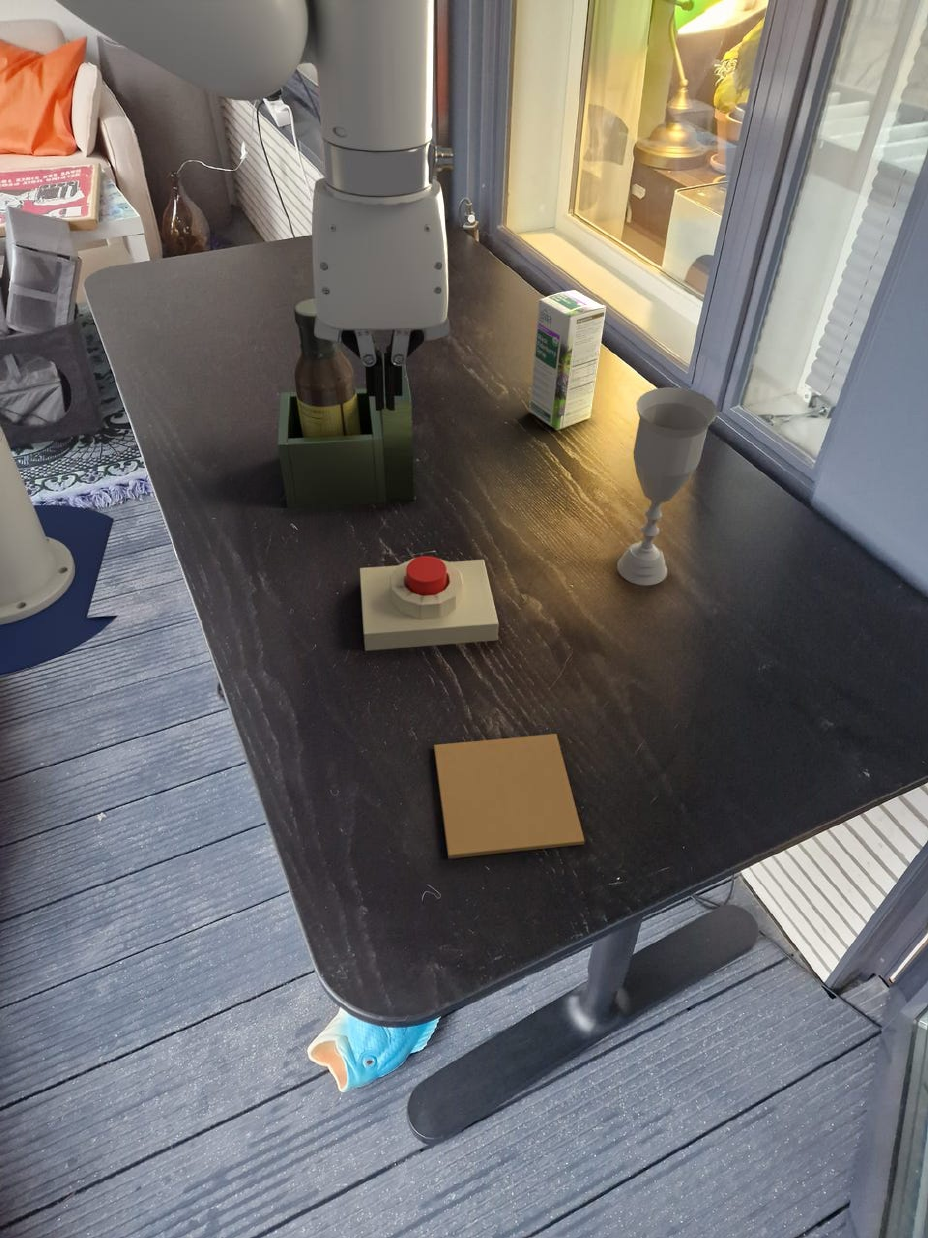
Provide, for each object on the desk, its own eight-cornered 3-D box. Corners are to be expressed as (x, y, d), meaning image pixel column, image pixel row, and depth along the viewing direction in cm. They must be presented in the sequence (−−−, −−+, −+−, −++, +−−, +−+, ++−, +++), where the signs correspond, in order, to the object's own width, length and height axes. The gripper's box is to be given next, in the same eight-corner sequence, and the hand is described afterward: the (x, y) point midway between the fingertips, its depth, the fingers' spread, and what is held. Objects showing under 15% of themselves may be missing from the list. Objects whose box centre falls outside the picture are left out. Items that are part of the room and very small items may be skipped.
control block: (365, 651, 76) (362, 618, 73) (360, 584, 82) (358, 552, 80) (497, 640, 77) (499, 608, 75) (483, 576, 84) (484, 544, 81)
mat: (448, 859, 61) (448, 855, 61) (434, 748, 68) (434, 744, 68) (583, 844, 62) (584, 841, 62) (555, 737, 69) (556, 733, 69)
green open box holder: (287, 508, 91) (272, 408, 83) (289, 454, 99) (275, 357, 90) (413, 501, 93) (411, 402, 84) (406, 448, 100) (403, 352, 92)
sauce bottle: (348, 456, 99) (333, 286, 85) (374, 482, 95) (363, 309, 81) (298, 472, 96) (274, 299, 82) (322, 500, 92) (302, 324, 78)
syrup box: (527, 411, 107) (536, 298, 97) (563, 398, 109) (575, 286, 99) (556, 432, 103) (568, 316, 93) (592, 418, 106) (608, 304, 96)
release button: (408, 597, 76) (408, 583, 75) (405, 571, 78) (404, 557, 77) (448, 595, 76) (448, 580, 75) (444, 569, 79) (444, 554, 78)
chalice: (659, 601, 82) (699, 439, 69) (595, 576, 84) (622, 414, 72) (687, 560, 86) (729, 400, 74) (625, 537, 89) (656, 379, 76)
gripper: (478, 151, 63) (467, 379, 75) (271, 148, 61) (296, 382, 74) (491, 183, 57) (477, 424, 70) (265, 182, 56) (293, 428, 68)
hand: (384, 402), depth 72 cm, fingers closed
